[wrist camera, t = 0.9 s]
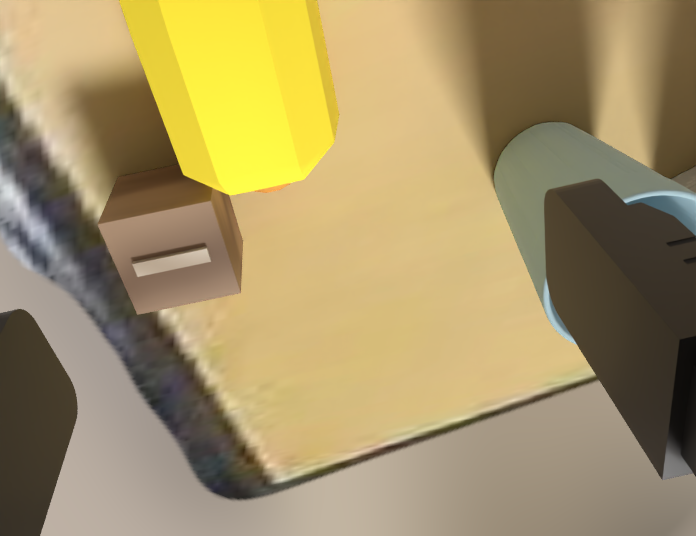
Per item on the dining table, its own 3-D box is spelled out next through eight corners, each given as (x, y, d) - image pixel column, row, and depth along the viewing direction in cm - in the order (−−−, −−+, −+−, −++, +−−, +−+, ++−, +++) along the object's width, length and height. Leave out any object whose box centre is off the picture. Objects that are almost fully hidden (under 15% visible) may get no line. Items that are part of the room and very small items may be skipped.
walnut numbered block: (118, 175, 32) (96, 226, 28) (216, 155, 32) (210, 203, 28) (152, 259, 35) (136, 317, 31) (242, 240, 35) (240, 295, 31)
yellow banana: (257, -294, 24) (49, -249, 24) (256, -338, 18) (-16, -279, 18) (346, 158, 33) (199, 190, 34) (364, 221, 28) (188, 259, 28)
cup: (570, 247, 38) (663, 365, 29) (450, 216, 36) (511, 333, 27) (640, 125, 34) (770, 219, 25) (511, 83, 32) (604, 169, 23)
